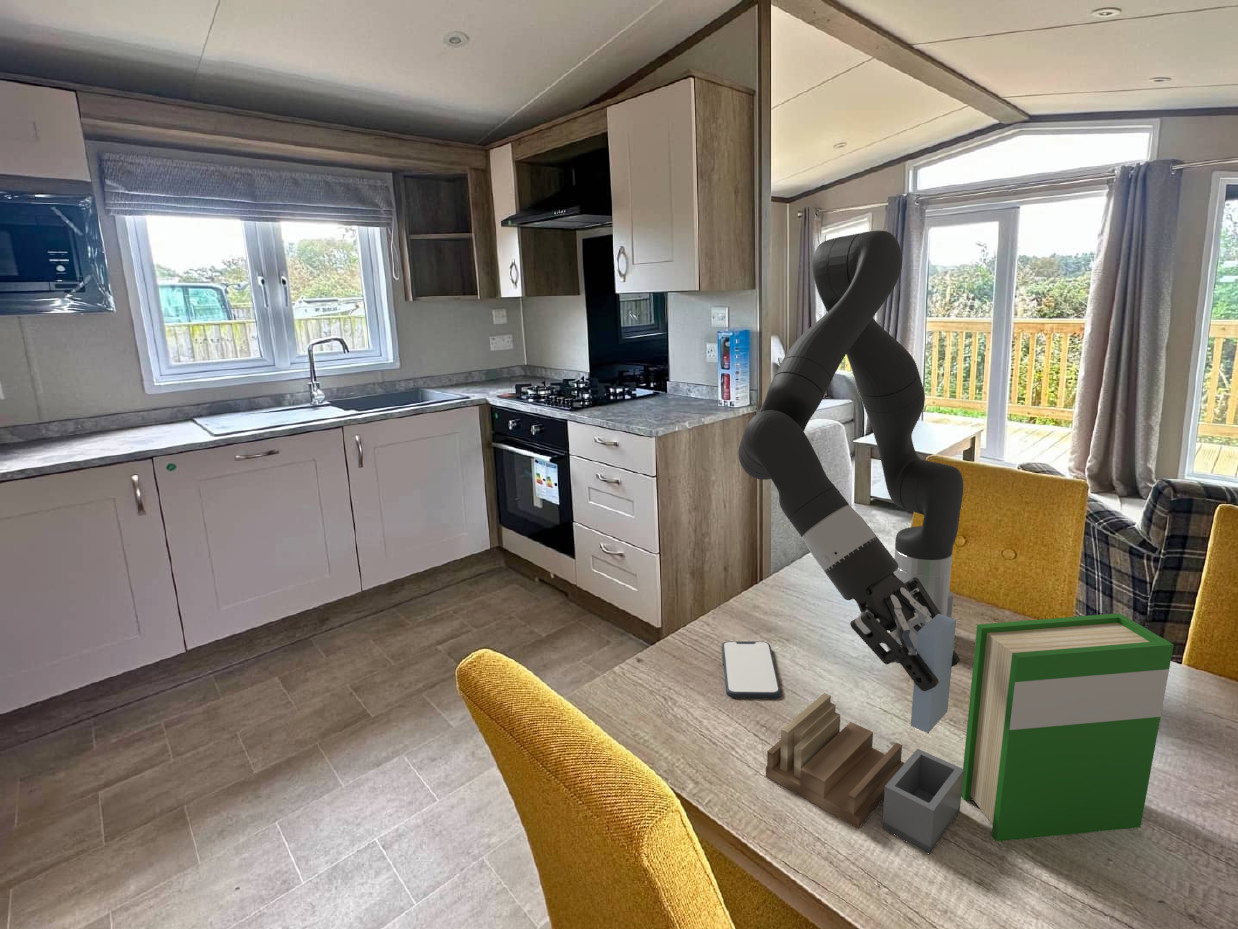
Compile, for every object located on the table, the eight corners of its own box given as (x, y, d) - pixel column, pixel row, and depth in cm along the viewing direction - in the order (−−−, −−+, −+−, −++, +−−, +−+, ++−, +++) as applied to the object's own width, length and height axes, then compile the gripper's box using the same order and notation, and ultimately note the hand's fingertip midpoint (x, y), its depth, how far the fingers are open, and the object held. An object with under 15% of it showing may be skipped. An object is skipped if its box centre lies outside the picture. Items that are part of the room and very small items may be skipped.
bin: (882, 828, 80) (884, 786, 79) (914, 788, 86) (917, 748, 85) (929, 854, 76) (933, 810, 75) (959, 810, 82) (964, 769, 81)
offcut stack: (780, 768, 89) (781, 729, 87) (823, 729, 96) (824, 693, 95) (800, 779, 87) (801, 739, 85) (842, 738, 94) (844, 701, 93)
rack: (765, 776, 90) (766, 750, 89) (816, 730, 98) (817, 706, 97) (858, 828, 80) (860, 800, 79) (905, 773, 89) (907, 747, 88)
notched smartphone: (782, 702, 106) (770, 648, 122) (782, 694, 106) (770, 640, 121) (726, 702, 107) (721, 648, 123) (726, 693, 107) (721, 640, 122)
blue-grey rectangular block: (910, 725, 77) (918, 631, 74) (930, 704, 80) (938, 613, 77) (928, 733, 75) (936, 637, 72) (947, 711, 79) (956, 619, 76)
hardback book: (996, 841, 78) (1017, 657, 72) (960, 795, 85) (977, 624, 79) (1140, 827, 79) (1173, 644, 73) (1092, 783, 86) (1119, 613, 80)
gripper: (840, 554, 74) (943, 692, 68) (897, 520, 83) (992, 639, 78) (796, 585, 79) (889, 716, 73) (855, 550, 88) (941, 663, 83)
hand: (942, 675), depth 76 cm, fingers closed on blue-grey rectangular block, 5 cm apart
